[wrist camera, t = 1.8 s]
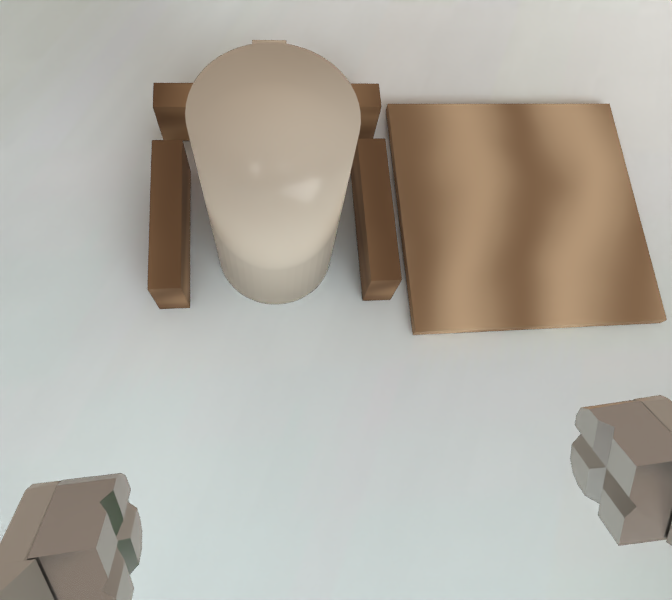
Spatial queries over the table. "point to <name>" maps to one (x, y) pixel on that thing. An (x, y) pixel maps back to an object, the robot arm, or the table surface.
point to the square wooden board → (518, 218)
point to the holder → (175, 186)
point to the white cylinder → (273, 164)
